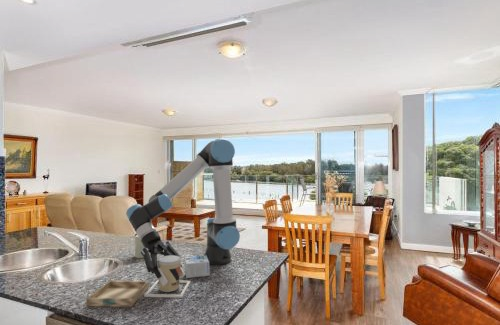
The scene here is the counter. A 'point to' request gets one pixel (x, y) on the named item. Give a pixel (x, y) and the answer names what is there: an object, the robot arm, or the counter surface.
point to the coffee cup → (170, 272)
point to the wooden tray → (118, 293)
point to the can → (138, 247)
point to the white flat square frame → (167, 294)
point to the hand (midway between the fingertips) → (174, 279)
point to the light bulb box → (196, 266)
